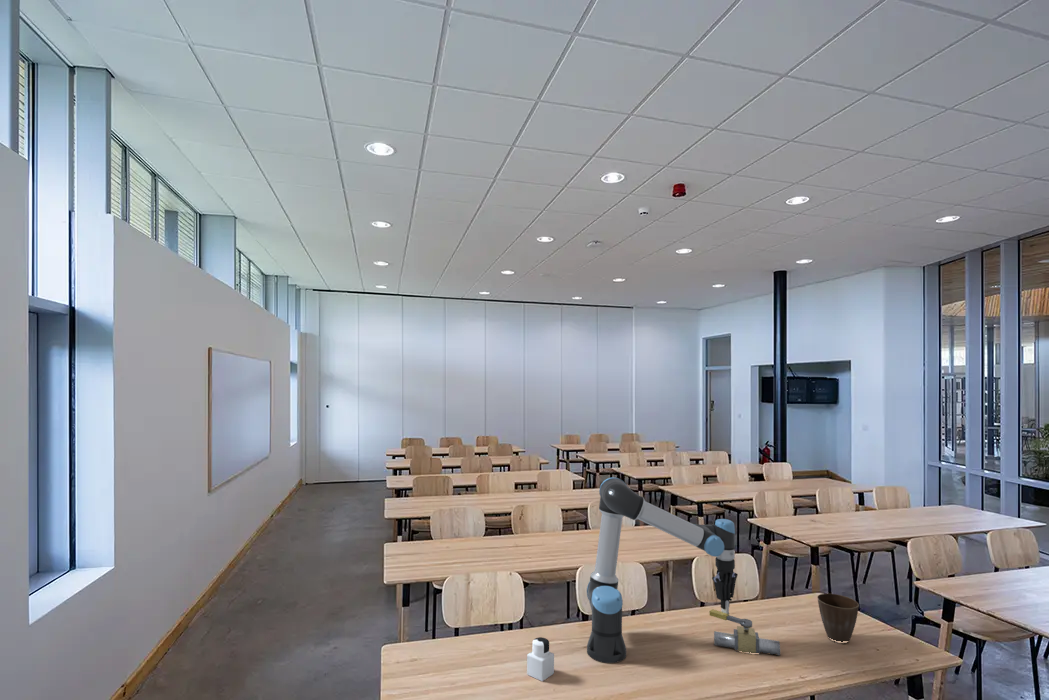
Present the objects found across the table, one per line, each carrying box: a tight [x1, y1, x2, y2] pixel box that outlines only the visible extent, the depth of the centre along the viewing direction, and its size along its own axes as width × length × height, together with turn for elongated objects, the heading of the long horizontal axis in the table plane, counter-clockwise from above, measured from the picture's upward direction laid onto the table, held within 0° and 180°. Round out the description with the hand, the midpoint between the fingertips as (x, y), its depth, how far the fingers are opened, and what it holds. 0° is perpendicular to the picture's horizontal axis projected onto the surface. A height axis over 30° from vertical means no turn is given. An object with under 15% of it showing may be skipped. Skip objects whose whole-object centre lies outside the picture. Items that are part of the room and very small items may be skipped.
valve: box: [713, 625, 781, 656], centre depth 216 cm, size 24×7×9 cm, turn 72°
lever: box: [708, 608, 753, 628], centre depth 220 cm, size 17×4×2 cm, turn 47°
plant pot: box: [817, 593, 860, 642], centre depth 226 cm, size 15×15×16 cm
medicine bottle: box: [526, 637, 555, 682], centre depth 195 cm, size 7×7×12 cm
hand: (725, 615), depth 225 cm, fingers closed
